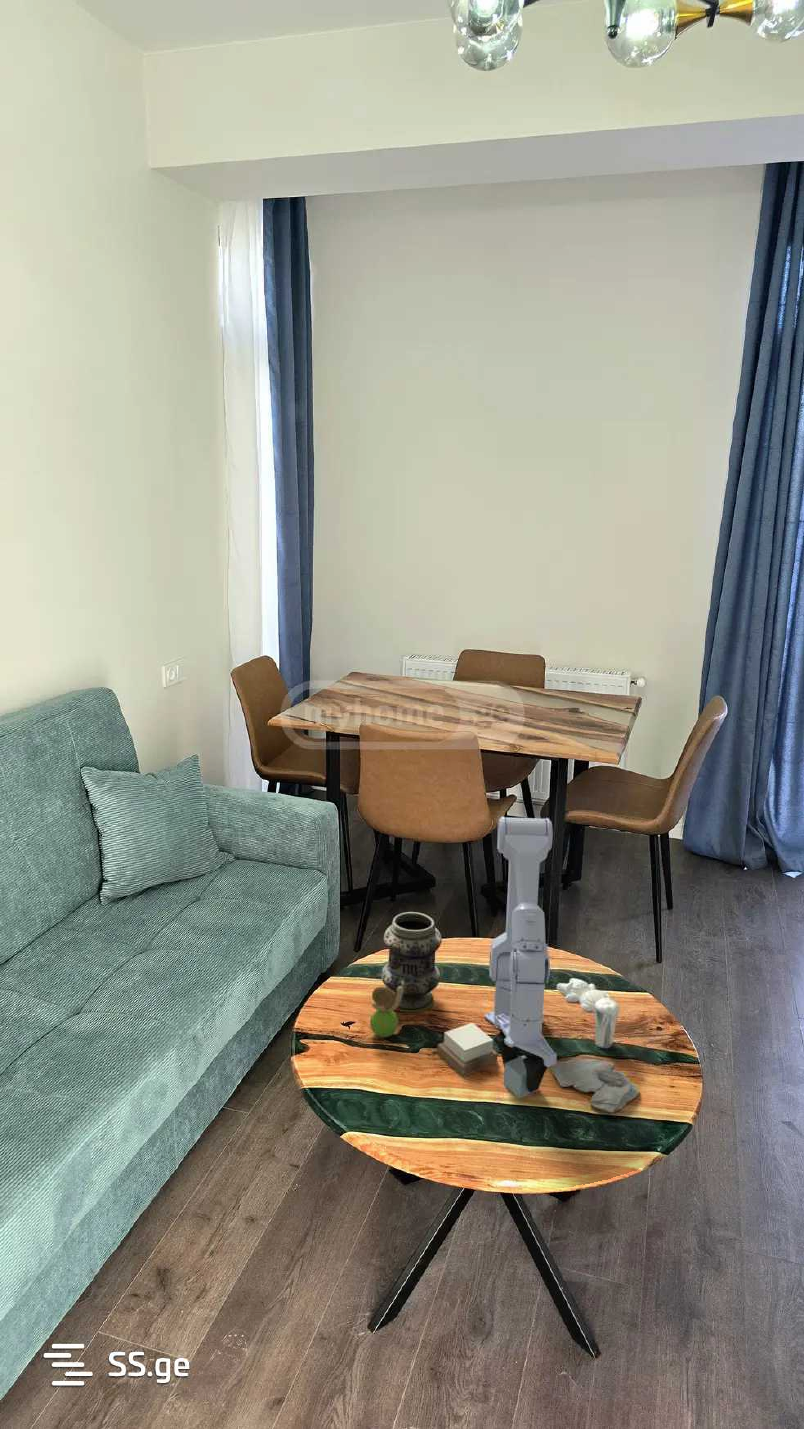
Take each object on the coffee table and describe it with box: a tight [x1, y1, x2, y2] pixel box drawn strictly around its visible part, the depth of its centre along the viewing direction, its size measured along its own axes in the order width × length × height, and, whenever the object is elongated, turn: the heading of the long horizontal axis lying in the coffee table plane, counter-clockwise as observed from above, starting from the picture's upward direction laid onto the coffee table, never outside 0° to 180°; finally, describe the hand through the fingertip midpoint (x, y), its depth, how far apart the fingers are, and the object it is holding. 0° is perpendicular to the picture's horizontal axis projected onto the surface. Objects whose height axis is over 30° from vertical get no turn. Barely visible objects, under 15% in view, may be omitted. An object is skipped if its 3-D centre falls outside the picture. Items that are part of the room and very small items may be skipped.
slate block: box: [503, 1055, 540, 1099], centre depth 170 cm, size 4×4×4 cm
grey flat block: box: [436, 1041, 498, 1077], centre depth 178 cm, size 8×8×2 cm
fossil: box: [550, 1057, 640, 1113], centre depth 172 cm, size 17×11×2 cm
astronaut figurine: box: [556, 978, 612, 1013], centre depth 200 cm, size 9×12×3 cm
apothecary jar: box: [380, 911, 443, 1014], centre depth 195 cm, size 12×12×18 cm
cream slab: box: [443, 1022, 494, 1062], centre depth 178 cm, size 6×6×2 cm
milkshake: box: [592, 998, 620, 1049], centre depth 183 cm, size 4×5×10 cm
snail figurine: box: [369, 981, 404, 1038], centre depth 183 cm, size 5×6×12 cm
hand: (521, 1080), depth 170 cm, fingers open, 6 cm apart
